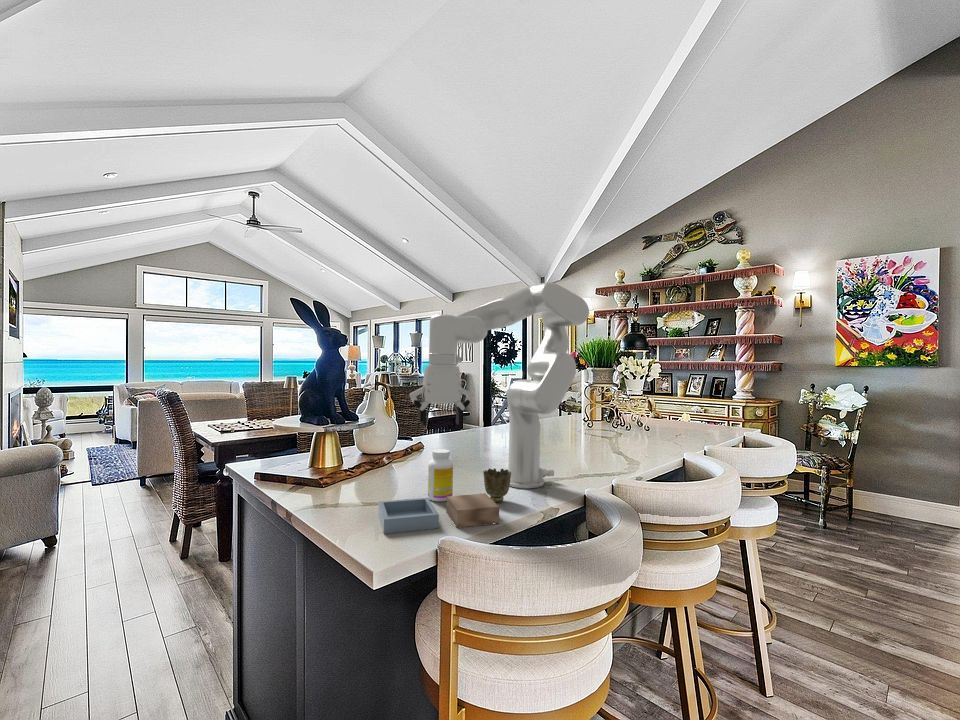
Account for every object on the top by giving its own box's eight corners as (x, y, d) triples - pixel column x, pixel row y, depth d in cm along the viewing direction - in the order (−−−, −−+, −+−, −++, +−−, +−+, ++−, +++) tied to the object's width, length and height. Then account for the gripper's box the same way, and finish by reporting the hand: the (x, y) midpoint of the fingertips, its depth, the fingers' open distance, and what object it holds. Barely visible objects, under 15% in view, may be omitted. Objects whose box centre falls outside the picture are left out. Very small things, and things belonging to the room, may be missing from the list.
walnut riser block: (484, 509, 111) (485, 493, 111) (498, 523, 102) (499, 506, 102) (446, 512, 108) (446, 496, 108) (457, 528, 99) (457, 510, 99)
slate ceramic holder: (427, 510, 110) (428, 497, 110) (438, 528, 99) (438, 514, 99) (378, 514, 106) (378, 501, 106) (383, 533, 95) (384, 519, 95)
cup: (480, 504, 115) (481, 474, 115) (484, 496, 122) (485, 467, 122) (509, 507, 114) (510, 475, 114) (511, 497, 121) (512, 468, 121)
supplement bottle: (457, 499, 119) (458, 451, 119) (438, 504, 114) (439, 454, 114) (441, 493, 124) (442, 447, 124) (422, 497, 119) (423, 450, 119)
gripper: (469, 361, 125) (468, 422, 125) (408, 360, 120) (406, 423, 120) (477, 362, 118) (476, 426, 118) (413, 360, 112) (411, 427, 113)
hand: (441, 424), depth 119 cm, fingers open, 9 cm apart
